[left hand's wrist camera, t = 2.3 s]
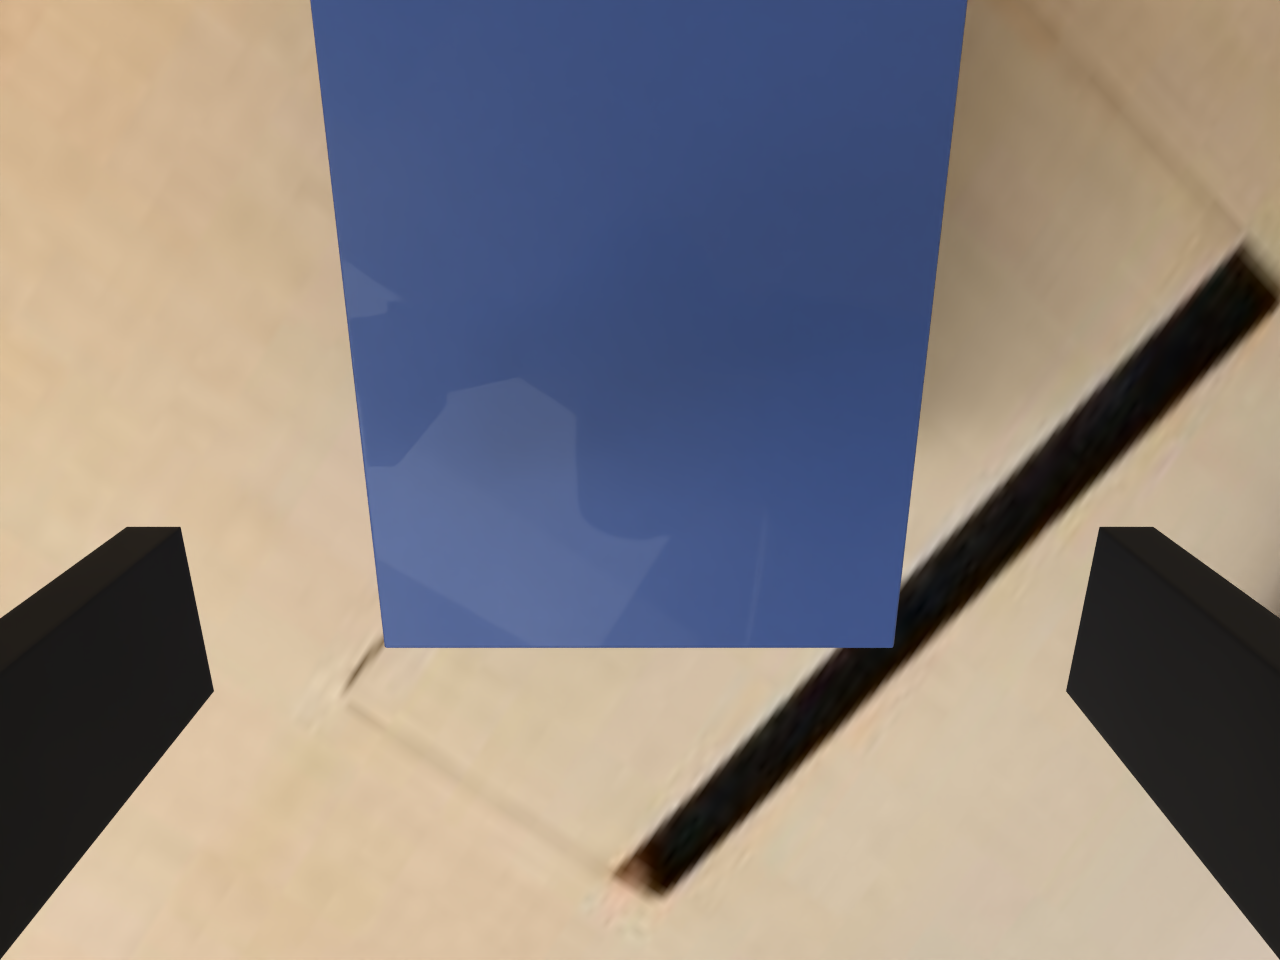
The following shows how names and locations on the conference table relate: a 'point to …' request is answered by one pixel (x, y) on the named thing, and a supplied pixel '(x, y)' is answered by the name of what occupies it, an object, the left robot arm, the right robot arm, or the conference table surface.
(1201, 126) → the conference table surface
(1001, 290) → the conference table surface
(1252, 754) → the left robot arm
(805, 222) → the cabinet
